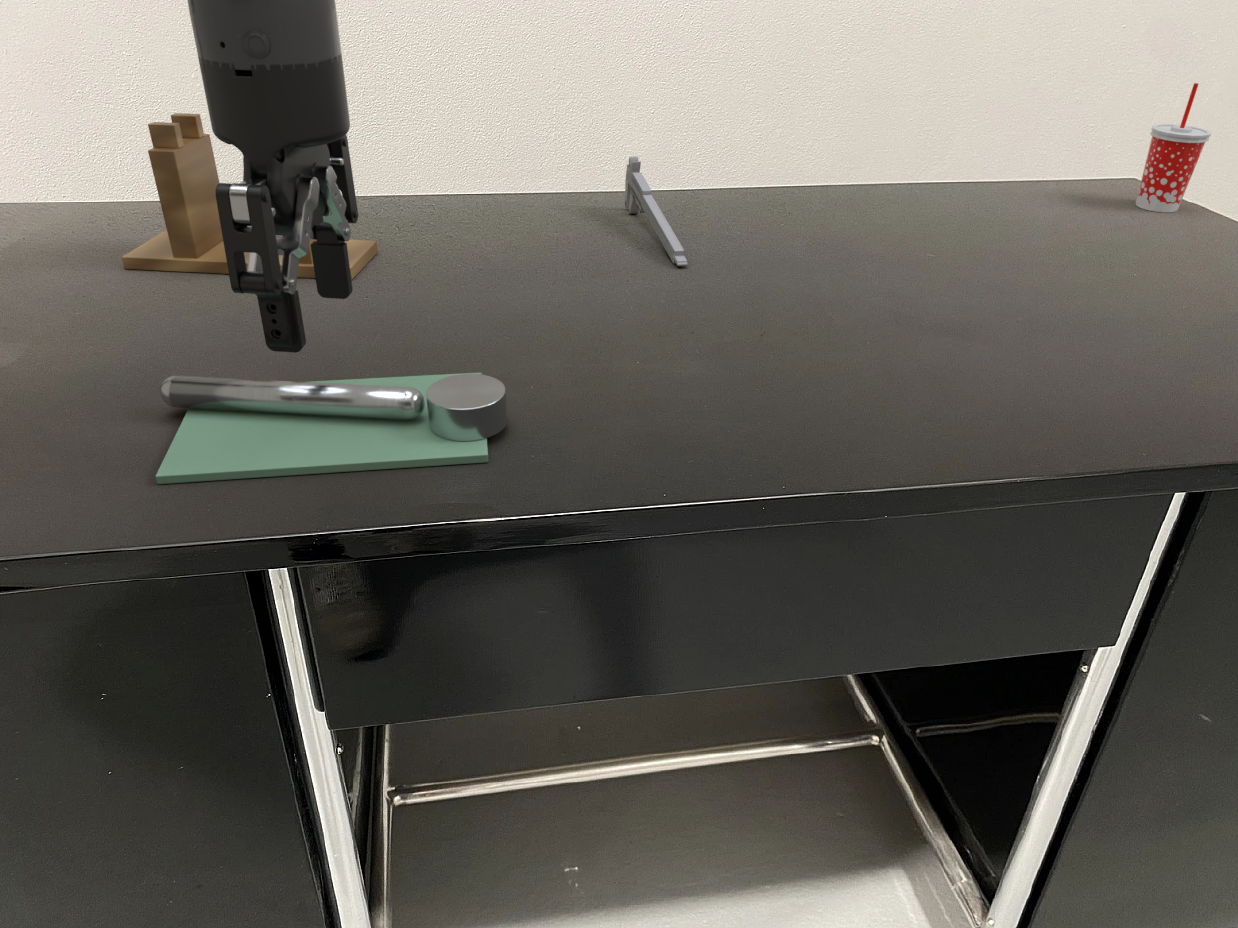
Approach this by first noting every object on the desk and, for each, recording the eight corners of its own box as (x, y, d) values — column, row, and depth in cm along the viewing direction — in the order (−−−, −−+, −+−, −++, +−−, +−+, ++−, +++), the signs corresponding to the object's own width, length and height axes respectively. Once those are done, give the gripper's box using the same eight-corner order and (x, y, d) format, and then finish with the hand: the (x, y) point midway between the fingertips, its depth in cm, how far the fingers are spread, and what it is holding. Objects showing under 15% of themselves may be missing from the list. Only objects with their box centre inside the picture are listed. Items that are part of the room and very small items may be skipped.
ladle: (146, 424, 62) (137, 392, 60) (184, 389, 66) (176, 358, 65) (499, 443, 60) (497, 411, 59) (513, 406, 65) (512, 375, 63)
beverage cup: (1182, 217, 109) (1225, 90, 101) (1125, 208, 112) (1163, 84, 104) (1186, 205, 113) (1228, 82, 106) (1131, 197, 116) (1168, 77, 109)
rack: (124, 269, 88) (85, 125, 81) (166, 242, 95) (133, 108, 88) (352, 280, 86) (331, 135, 80) (378, 252, 93) (361, 116, 86)
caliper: (624, 209, 107) (625, 153, 104) (633, 209, 108) (634, 153, 104) (677, 269, 91) (681, 204, 87) (688, 268, 91) (692, 204, 88)
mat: (157, 484, 57) (154, 476, 56) (200, 394, 67) (198, 387, 66) (488, 462, 59) (488, 454, 59) (482, 379, 69) (481, 372, 69)
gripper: (257, 28, 57) (298, 279, 66) (135, 65, 45) (204, 366, 54) (376, 33, 57) (402, 285, 65) (286, 72, 45) (331, 374, 53)
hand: (313, 321), depth 60 cm, fingers open, 8 cm apart
